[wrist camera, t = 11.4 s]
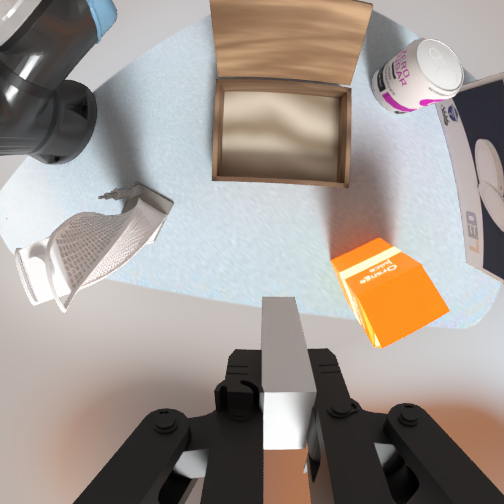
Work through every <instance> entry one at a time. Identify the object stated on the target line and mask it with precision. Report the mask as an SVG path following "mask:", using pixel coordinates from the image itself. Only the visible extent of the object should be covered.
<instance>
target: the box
mask: <svg viewBox="0 0 504 504" xmlns="http://www.w3.org/2000/svg"><path fill="white" fill-rule="evenodd" d="M350 151H351V88H348V87H341V86H334V85H326V84H317V83H308V82H297V81H283V80H264V79H216V92H215V111H214V132H213V157H212V181H239V182H265V183H285V184H301V185H315V186H328V187H340V188H349V172H350Z"/></svg>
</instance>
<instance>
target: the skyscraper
mask: <svg viewBox="0 0 504 504" xmlns="http://www.w3.org/2000/svg"><path fill="white" fill-rule="evenodd" d="M124 197H128V198H129V199H128V201H127V203H126V205H125V207H124V210H123V212H122V214H119V215H103V214H99V213H94V212H82V213H78V214H76V215H74V216H72V217H70V218H69V219H67V220H66V221H65V222H63V223H62V224H61V225H60V226H59V227H58V228H57V229H56V230H55V231H54V232H53V233H52V234H51V236H49V237H47V238H45V239H43V240H41V241H39V242H37V243H34V244H32V245H30V246H27V247H25V248H23V249H21V248H17V249H16V251H15V260H16V265H17V269H18V272H19V275H20V279H21V282H22V284H23V287H24V290H25V292H26V294H27V296H28V298H29V300H30V302H31V303H32V304H33V305H37V304H39V303H42V302H45V301H48V300H52V299H55V301H56V303H57V305H58V307H59V308H60V309H61V311H62V312H64V313H66V311H67V309H68V307H69V305H70V303H71V302H72V299H73V298H74V296H75V294H76V293H77V292H78V290H80V289H82V288H85V287H87V286H90V285H92V284H94V283H96V282H98V281H100V280H102V279H104V278H105V277H107V276H109V275H110V274H112V273H113V272H115V271H116V270H118V269H119V268H120V267H122V266H123V265H124V264H125V263H127V262H128V261H129V260H130V259H131V258H132V257H133V256H134V255H135V254H136V253H137V252H138V251H139V250H140V249H141V248H142V247H143V246H144V245H145V244H149V243H154V242H155V240H156V238H157V236H158V234H159V232H160V230H161V228H162V226H163V224H164V222H165V220H166V218H167V216H168V214H169V212H170V210H171V208H172V206H173V204H174V203H172V202H171V201H169V200H167V199H165V198H164V197H162V196H160V195H158V194H157V193H155V192H153V191H152V190H150V189H148V188H146V187H145V186H143V185H141V184H139V183H138V182H136V184H135V186H127V187H126V188H124V189H116V188H115V189H114V190H113V191H111V193H105V194H104V196H99V197H98V199H102V198H105V199H106V200H107V199H110V198H113V199H115V200H118V199H121V198H124ZM19 256H20V259H21V262H22V265H23V268H24V270H25V273H26V276H27V279H28V281H29V284H30V287H31V289H32V292H33V294H34V297H35V300H33V298H32V296H31V294H30V292H29V290H28V287H27V285H26V282H25V279H24V276H23V273H22V270H21V266H20V262H19ZM66 294H70V295H69V297H68V299H67V301H66V303H65V304H64V306H63V304H62V303H61V301H60V299H59V297H60V296H64V295H66Z"/></svg>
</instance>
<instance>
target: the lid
mask: <svg viewBox="0 0 504 504" xmlns="http://www.w3.org/2000/svg"><path fill="white" fill-rule="evenodd" d="M210 7H211V17H212V26H213V35H214V44H215V52H216V61H217V69H218V77H272V78H288V79H301V80H311V81H320V82H329V83H336V84H343V85H350V84H351V81H352V78H353V75H354V71H355V68H356V65H357V61H358V58H359V54H360V51H361V48H362V44H363V41H364V37H365V34H366V30H367V26H368V23H369V19H370V16H371V12H372V8H373V4H371V3H367V2H362V1H358V0H210Z"/></svg>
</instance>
